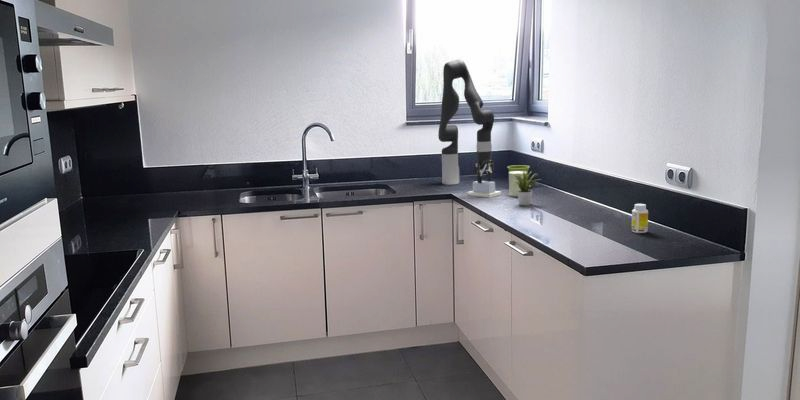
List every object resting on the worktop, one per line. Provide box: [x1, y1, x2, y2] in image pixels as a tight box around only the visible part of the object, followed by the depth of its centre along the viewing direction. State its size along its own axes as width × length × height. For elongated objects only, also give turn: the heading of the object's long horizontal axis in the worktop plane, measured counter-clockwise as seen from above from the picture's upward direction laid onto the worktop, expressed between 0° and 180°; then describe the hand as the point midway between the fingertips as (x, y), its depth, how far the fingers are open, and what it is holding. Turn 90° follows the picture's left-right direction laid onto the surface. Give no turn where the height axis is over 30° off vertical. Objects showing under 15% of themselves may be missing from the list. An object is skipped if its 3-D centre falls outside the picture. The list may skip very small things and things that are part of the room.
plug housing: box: [472, 180, 496, 193], centre depth 321 cm, size 5×10×5 cm, turn 48°
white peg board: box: [466, 190, 502, 198], centre depth 321 cm, size 10×14×4 cm
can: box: [508, 171, 528, 198], centre depth 317 cm, size 9×9×12 cm
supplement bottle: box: [631, 203, 649, 234], centre depth 232 cm, size 6×6×10 cm
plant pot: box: [506, 164, 530, 174], centre depth 339 cm, size 12×12×11 cm
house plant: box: [513, 170, 543, 206], centre depth 290 cm, size 14×14×16 cm
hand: (484, 181), depth 321 cm, fingers open, 8 cm apart
